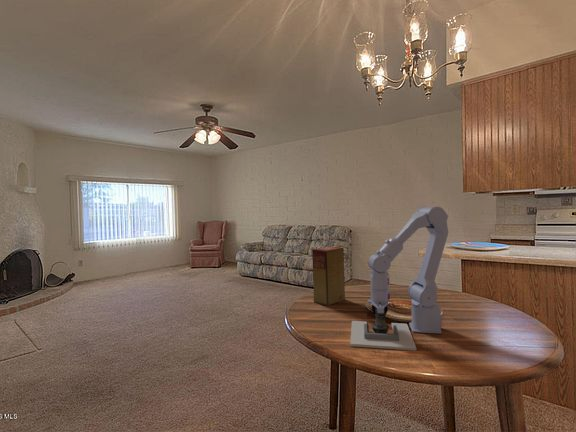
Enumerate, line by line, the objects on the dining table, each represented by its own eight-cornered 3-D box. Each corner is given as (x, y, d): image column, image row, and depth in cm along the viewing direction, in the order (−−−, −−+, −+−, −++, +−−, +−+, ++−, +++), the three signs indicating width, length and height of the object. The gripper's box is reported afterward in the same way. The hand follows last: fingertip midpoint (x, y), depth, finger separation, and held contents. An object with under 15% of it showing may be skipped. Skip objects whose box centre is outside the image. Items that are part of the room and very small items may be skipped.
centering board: (406, 325, 116) (406, 319, 116) (416, 350, 96) (416, 342, 96) (351, 322, 120) (351, 316, 120) (350, 346, 101) (350, 338, 101)
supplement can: (392, 307, 137) (391, 273, 136) (373, 307, 137) (372, 273, 137) (386, 301, 145) (386, 269, 145) (368, 301, 145) (368, 269, 145)
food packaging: (330, 295, 156) (329, 245, 155) (346, 299, 149) (345, 247, 148) (312, 302, 147) (311, 249, 146) (328, 306, 140) (326, 250, 139)
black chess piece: (390, 340, 104) (389, 304, 104) (372, 339, 105) (371, 304, 105) (388, 333, 110) (387, 299, 109) (371, 332, 111) (370, 298, 111)
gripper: (367, 282, 119) (367, 318, 119) (367, 293, 105) (368, 333, 105) (386, 283, 117) (387, 319, 118) (390, 294, 103) (390, 335, 104)
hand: (379, 326), depth 111 cm, fingers closed
